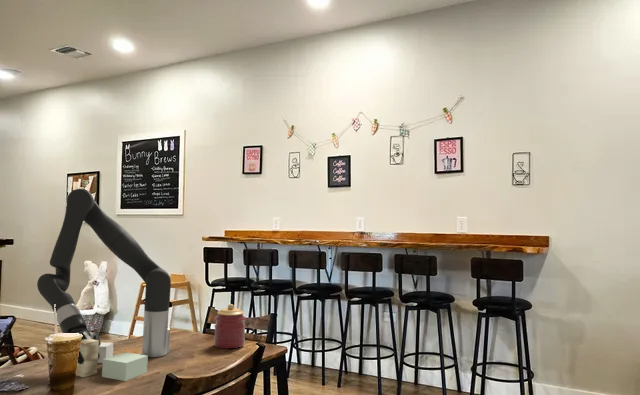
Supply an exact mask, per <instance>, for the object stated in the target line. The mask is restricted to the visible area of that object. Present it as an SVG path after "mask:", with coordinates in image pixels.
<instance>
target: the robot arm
mask: <svg viewBox="0 0 640 395" xmlns="http://www.w3.org/2000/svg"><path fill="white" fill-rule="evenodd" d="M83 223H85V224H87V225H88V226H89V227H90V228H91V229H92V230H93V232H94V233H95V234H96V235H97V237H98V239H100V241H101V242H102V243H103V244H104V246H106V247H107V249H108V250H110V252H112V253H113V255H114V256H116V257H117V258H118V259H119V260H121V261H122V262H123V263H125V264H126V265H127V266H129V267H131V269H133V271H135V273H137V275H138V276H139V277H140V278H141V279H142V281H143V282H144V283H145V291H144V292H145V295H144V296H145V297H144V310H143V311H144V312H143V330H142V331H143V332H142V346H141V347H142V350H141V355H147V356H148V358H158V357H159V358H160V357H164V356H166V355H167V354H169V353H170V337H171V336H170V335H171V329H170V328H169V320H170V319H169V313H170V312H169V311H170V302H171V287H172V279H171V276H170V275H169V273H168V272H167V271H166V270H165V269H163V268H162V267H161V266H159V265H158V264H157V263H156V262H155V261H153V259H151V258H150V257H149V256H148V254H147V253H146V252H145V251H144V248H143V247H142V246H141V244H139V243H138V242H137V241H136V239H135V238H134V237H133V236H132V235H131V234H130V232H128V231H127V230H126V228H124V227H123V226H122V225H120V223H118V222H117V221H116V220H114V219H113V218H112V217H110V216H108V215H107V214H106V212H105V211H103V209H102V208H101V207H100V205H99V204H98V203H97V202H96V201H95V199H94V195H92V193H91V192H90V191H89V190H87V189H86V188H76V189H73V190H72V191H71V192H69V193H68V195H67V197H66V207H65V214H64V218H63V222H62V225H61V229H60V231H59V235H58V236H57V240H56V241H55V245H54V248H53V250H52V253H51V256H50V260H49V265H50V267H53V268H55V273H44V274H42V275H40V276H39V278H38V279H37V281H36V282H37V283H36V287H37V290H38V292H39V294H40V295H41V296H42V297H43V299H44V300H45V301H46V302H47V303H48V304H49V305H50V306H51V309H52V311H53V312H54V304H56V307H55V308H56V313H57V319H56V322H57V324H58V326H59V328H60V330H61V332H62V334H63V333H79V334H82V335H83V337H82V340H85V339H94V340H98V341H99V346H100V345H101V342H102V341H101V338H100V334H99V331H97V330H95V331H94V332H93V331H90V330H88V327H87V326H88V325H87V323H86V321H85V319H84V317H83V315H82V313H81V311H80V309H79V307H78V306H77V305H76V303H75V301H74V298H73V296H72V295H71V294H70V293H68V292H67V290H68V289H69V287H70V283H71V265H72V261H73V258H74V257H75V252H76V249H77V245H78V241H79V237H80V233H81V229H82V226H83ZM90 337H91V338H90ZM99 356H100V354H99V352H98V359H99ZM83 362H84V358H83V356H82V354H81V352H79V357H78V363H79V364H82V363H83Z"/></svg>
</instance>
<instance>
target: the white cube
mask: <svg viewBox="0 0 640 395" xmlns="http://www.w3.org/2000/svg"><path fill="white" fill-rule="evenodd" d="M100 342H101V345H100V346H99V347H98V352H99V354H100V356H99V359H98V364H103V359H105V358H108V357H111V356H114V342H103V341H100Z"/></svg>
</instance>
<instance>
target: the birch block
mask: <svg viewBox="0 0 640 395" xmlns="http://www.w3.org/2000/svg"><path fill="white" fill-rule="evenodd" d="M98 347H99V341H98V340H94V339H85V340H82V341H81V346H80V351H79V352H81V354H82V356H83V358H84V362H83V363H82V364H79V363H78V366H77V375H76V377H81V378H85V377H86V378H87V377H89V376H92V375H96V374H98V365H99V363H98Z"/></svg>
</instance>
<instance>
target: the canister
mask: <svg viewBox="0 0 640 395" xmlns="http://www.w3.org/2000/svg"><path fill="white" fill-rule="evenodd" d="M244 313H245V312H244V311H243V310H241V308H237V307H235V306H234V304H232V303H229V304H228V305H227V307H226V308H221V309H220V310H219V311H217V312H216V314H217V315H216V316H214V320H215V324H214V340H213V344H214V345H215V346H216V347H215V346H214V347H215V348H217V347H219V348H218V349H221V348H236V349H239V348H238V347H241V348H242V346H243V347H244V346H245V343H246V339H245V335H246V332H245V331H246V324H245V320H246V319H247V318H246V316H244Z"/></svg>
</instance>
